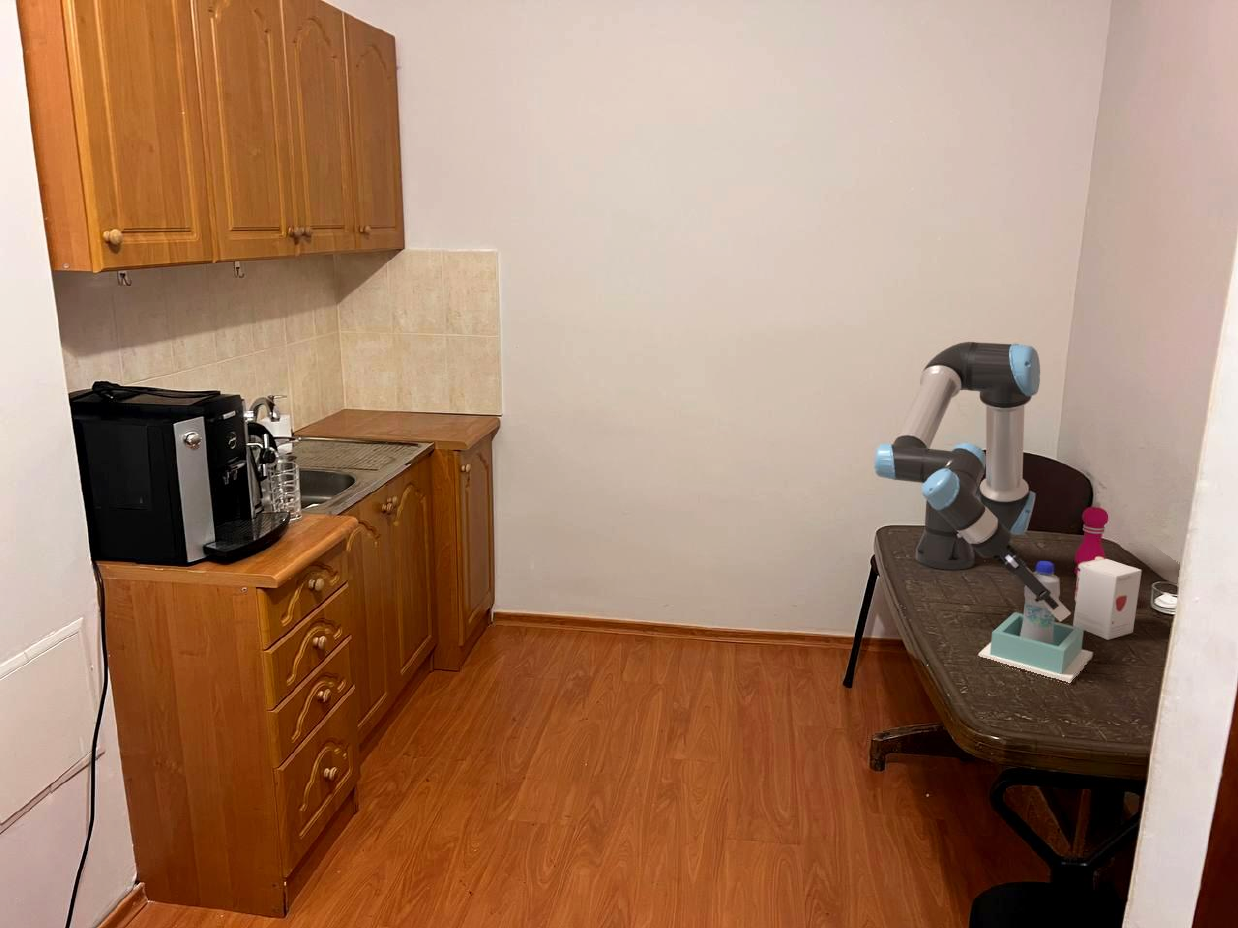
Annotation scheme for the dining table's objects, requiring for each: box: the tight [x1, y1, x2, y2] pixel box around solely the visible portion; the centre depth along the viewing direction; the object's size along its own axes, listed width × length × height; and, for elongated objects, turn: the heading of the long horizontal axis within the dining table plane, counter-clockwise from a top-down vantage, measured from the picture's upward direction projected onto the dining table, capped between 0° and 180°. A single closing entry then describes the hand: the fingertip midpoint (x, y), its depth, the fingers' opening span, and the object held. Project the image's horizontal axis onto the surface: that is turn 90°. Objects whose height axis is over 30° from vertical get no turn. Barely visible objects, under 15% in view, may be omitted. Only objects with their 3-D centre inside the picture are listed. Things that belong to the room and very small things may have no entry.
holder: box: [977, 611, 1094, 684], centre depth 193 cm, size 18×16×6 cm
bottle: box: [1020, 560, 1061, 645], centre depth 191 cm, size 7×7×20 cm
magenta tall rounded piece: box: [1074, 501, 1109, 576], centre depth 239 cm, size 7×7×20 cm
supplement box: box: [1072, 558, 1143, 641], centre depth 206 cm, size 9×9×15 cm
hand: (1053, 604), depth 191 cm, fingers open, 13 cm apart
